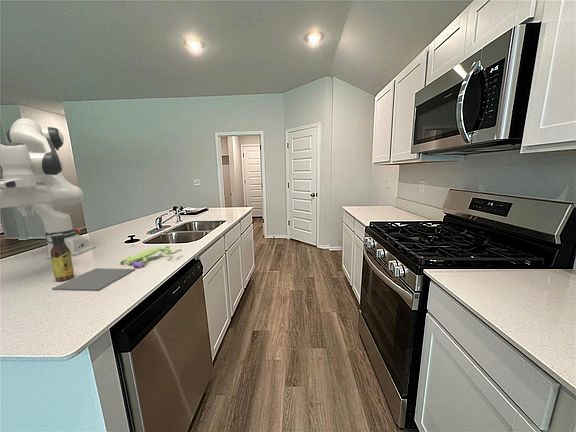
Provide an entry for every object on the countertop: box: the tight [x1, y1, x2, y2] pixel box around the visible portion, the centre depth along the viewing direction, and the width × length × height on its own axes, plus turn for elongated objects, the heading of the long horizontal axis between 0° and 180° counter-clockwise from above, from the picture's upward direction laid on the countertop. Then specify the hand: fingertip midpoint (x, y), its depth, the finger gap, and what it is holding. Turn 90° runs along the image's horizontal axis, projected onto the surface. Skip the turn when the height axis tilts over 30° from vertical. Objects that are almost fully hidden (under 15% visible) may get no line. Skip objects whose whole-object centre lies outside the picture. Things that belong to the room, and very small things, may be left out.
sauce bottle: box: [51, 234, 75, 282], centre depth 104 cm, size 7×6×20 cm
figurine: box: [119, 245, 182, 269], centre depth 126 cm, size 18×27×6 cm
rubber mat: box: [51, 267, 136, 292], centre depth 104 cm, size 20×20×1 cm
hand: (28, 215), depth 101 cm, fingers closed
